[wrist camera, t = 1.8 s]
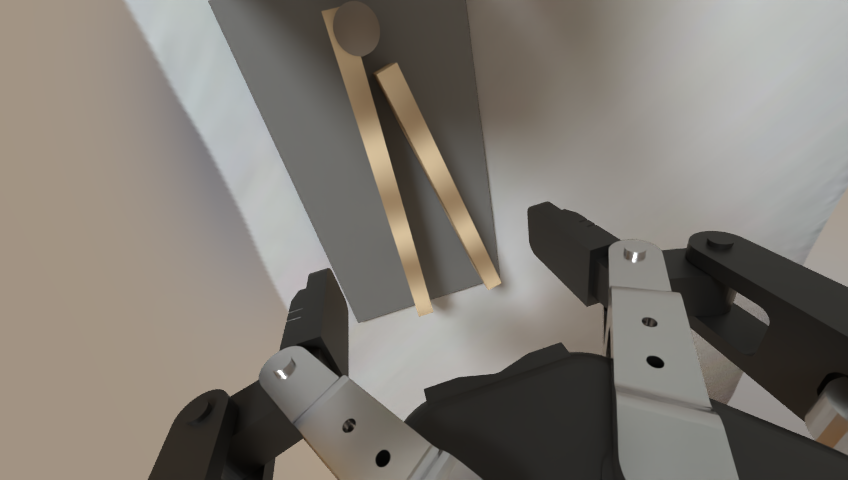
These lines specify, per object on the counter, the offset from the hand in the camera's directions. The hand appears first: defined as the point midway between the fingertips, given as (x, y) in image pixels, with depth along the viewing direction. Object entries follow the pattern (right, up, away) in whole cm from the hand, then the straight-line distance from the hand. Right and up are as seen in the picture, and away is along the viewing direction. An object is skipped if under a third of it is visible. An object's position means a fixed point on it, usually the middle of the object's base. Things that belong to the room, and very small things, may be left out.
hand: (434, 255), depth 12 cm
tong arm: (+1, +6, +15) cm, 16 cm away
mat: (-3, +6, +15) cm, 16 cm away
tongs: (-3, +6, +14) cm, 16 cm away
